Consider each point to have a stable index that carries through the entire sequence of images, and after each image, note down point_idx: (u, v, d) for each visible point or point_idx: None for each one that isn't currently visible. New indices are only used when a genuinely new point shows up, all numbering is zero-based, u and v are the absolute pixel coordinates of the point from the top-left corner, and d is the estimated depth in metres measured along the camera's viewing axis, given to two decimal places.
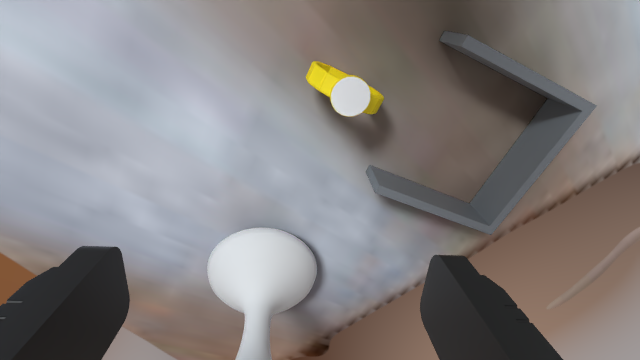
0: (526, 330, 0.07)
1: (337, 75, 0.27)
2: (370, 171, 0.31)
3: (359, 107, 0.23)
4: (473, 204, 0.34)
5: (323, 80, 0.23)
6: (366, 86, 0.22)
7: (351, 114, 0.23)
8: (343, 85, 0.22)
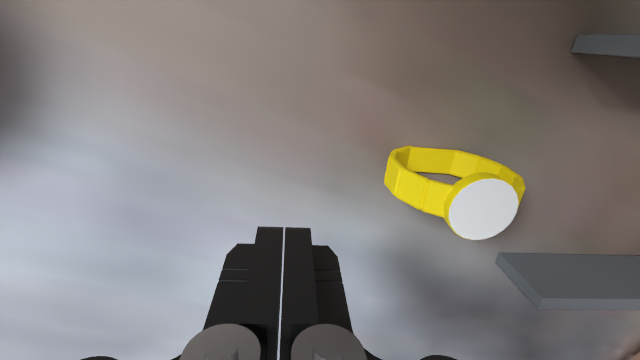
0: (332, 289, 0.07)
1: (423, 155, 0.18)
2: (507, 265, 0.20)
3: (502, 220, 0.13)
4: None
5: (424, 194, 0.13)
6: (507, 186, 0.12)
7: (489, 234, 0.13)
8: (466, 197, 0.13)
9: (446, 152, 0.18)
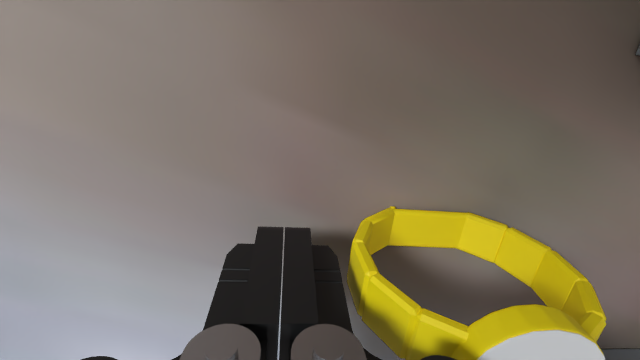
0: (332, 289, 0.07)
1: (416, 223, 0.11)
2: None
3: None
4: None
5: (411, 335, 0.07)
6: (586, 344, 0.06)
7: None
8: None
9: (452, 217, 0.11)
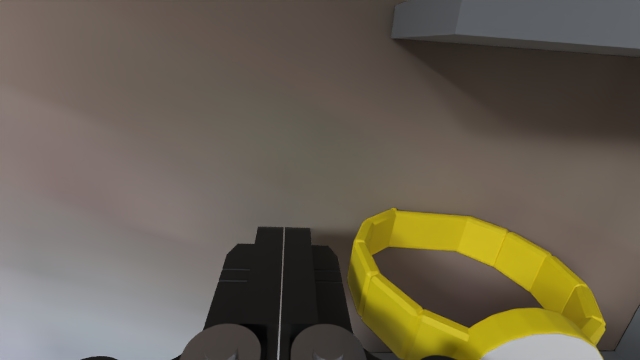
0: (332, 289, 0.07)
1: (416, 225, 0.11)
2: None
3: None
4: (630, 359, 0.14)
5: (412, 336, 0.07)
6: (587, 348, 0.06)
7: None
8: None
9: (453, 220, 0.11)
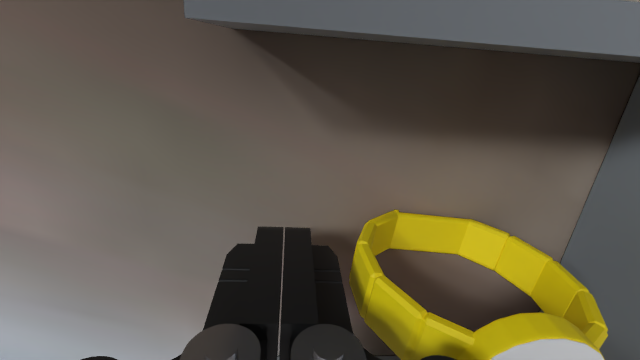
0: (332, 289, 0.07)
1: (418, 227, 0.11)
2: None
3: None
4: None
5: (416, 339, 0.07)
6: (592, 354, 0.06)
7: None
8: None
9: (454, 223, 0.11)
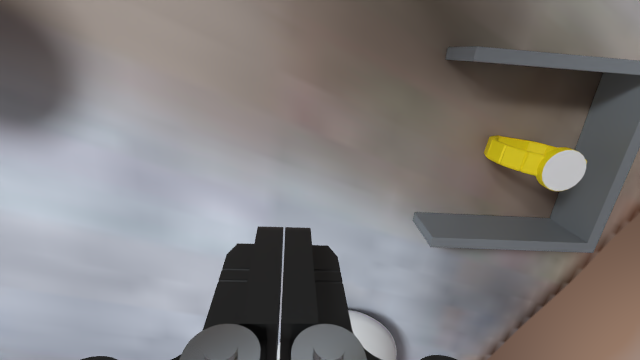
0: (332, 289, 0.07)
1: (508, 143, 0.25)
2: (418, 219, 0.27)
3: (574, 178, 0.21)
4: (555, 219, 0.28)
5: (524, 160, 0.21)
6: (581, 156, 0.20)
7: (566, 187, 0.21)
8: (555, 161, 0.20)
9: (523, 141, 0.26)
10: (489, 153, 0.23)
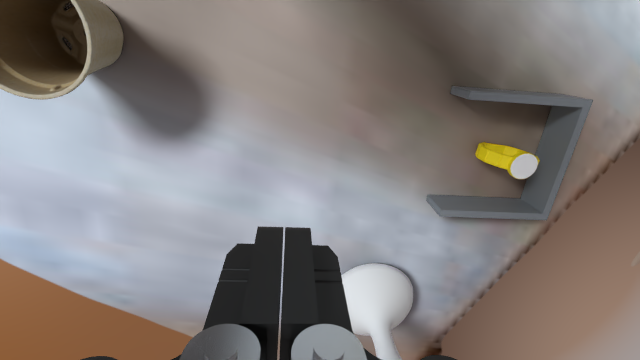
0: (332, 289, 0.07)
1: (491, 147, 0.38)
2: (430, 199, 0.39)
3: (530, 171, 0.33)
4: (524, 198, 0.40)
5: (500, 159, 0.34)
6: (534, 157, 0.33)
7: (525, 177, 0.33)
8: (518, 160, 0.33)
9: (501, 146, 0.38)
10: (478, 154, 0.36)
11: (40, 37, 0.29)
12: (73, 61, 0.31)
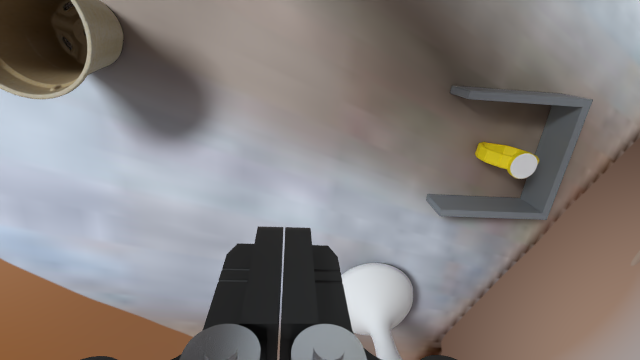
0: (332, 289, 0.07)
1: (491, 147, 0.38)
2: (430, 199, 0.39)
3: (530, 170, 0.33)
4: (524, 198, 0.40)
5: (500, 159, 0.34)
6: (534, 157, 0.33)
7: (525, 176, 0.33)
8: (518, 160, 0.33)
9: (501, 146, 0.38)
10: (478, 154, 0.36)
11: (40, 37, 0.29)
12: (73, 61, 0.31)
